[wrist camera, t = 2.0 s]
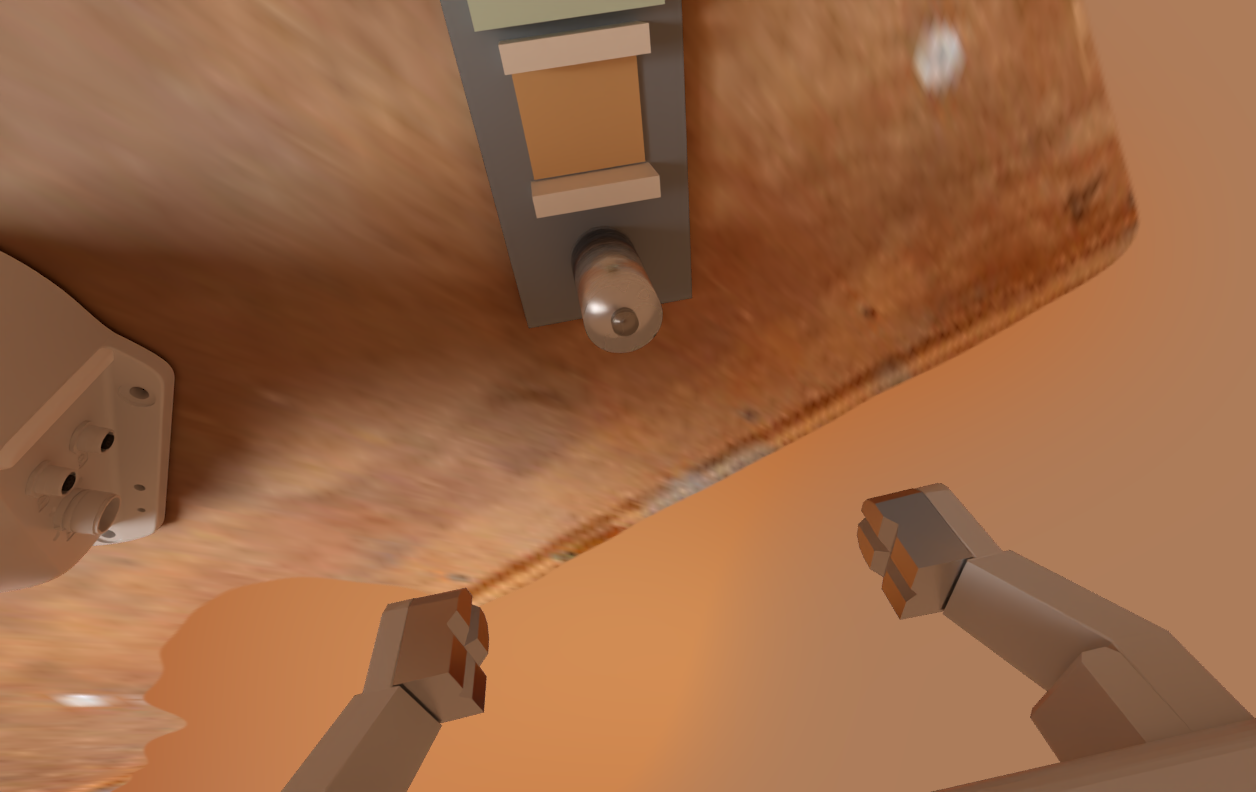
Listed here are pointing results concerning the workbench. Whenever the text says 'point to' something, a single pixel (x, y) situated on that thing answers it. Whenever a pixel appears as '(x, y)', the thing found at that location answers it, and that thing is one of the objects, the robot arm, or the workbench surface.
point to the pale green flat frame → (542, 10)
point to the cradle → (582, 116)
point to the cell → (614, 291)
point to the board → (550, 240)
